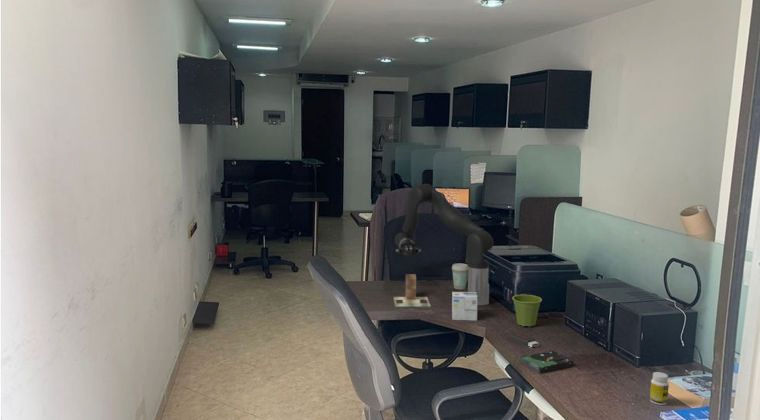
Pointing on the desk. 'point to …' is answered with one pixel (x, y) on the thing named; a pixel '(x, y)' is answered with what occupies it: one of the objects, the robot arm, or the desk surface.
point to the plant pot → (526, 309)
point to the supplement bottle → (659, 388)
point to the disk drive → (546, 362)
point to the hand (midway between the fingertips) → (409, 253)
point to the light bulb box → (464, 306)
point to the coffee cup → (460, 275)
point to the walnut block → (410, 287)
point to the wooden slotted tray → (411, 301)
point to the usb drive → (522, 339)
